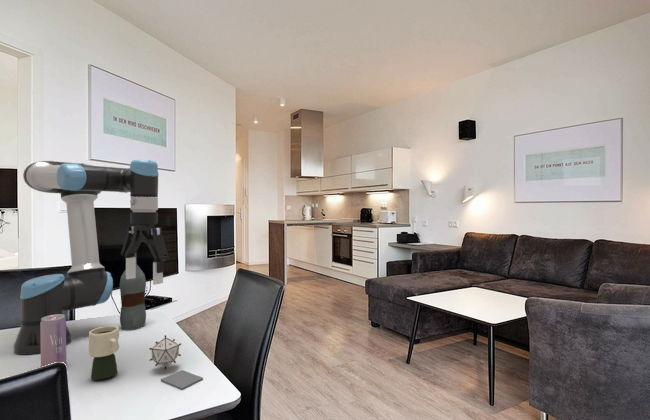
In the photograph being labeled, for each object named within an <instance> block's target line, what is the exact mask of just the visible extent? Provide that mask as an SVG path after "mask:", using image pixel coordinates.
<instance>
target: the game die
mask: <svg viewBox="0 0 650 420" xmlns="http://www.w3.org/2000/svg"><path fill="white" fill-rule="evenodd" d="M175 341H176V338H173V339H170V338H168V337H167V335H166V334H165V335H164V337H163V339H161V340H160V341H155V345H154V346H153V347H149V348H148V349H149V351H151V358H150V359H149V360H148V361H149V362H151V361H153V362H154V363H155V366H154V367H158V365H159V366H162V367H164V369H165V370H166V369H167V366H169V365H170V364H172V363H173V364H176V363H177V361H176V360H177V358H178V357H181V356H182V355H181V353H180V346H181V345H182V343H179V344H178V343H177V342H175Z"/></svg>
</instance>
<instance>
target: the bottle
mask: <svg viewBox="0 0 650 420" xmlns="http://www.w3.org/2000/svg"><path fill="white" fill-rule="evenodd" d="M135 257H136V258H137V252H136V253H135ZM146 287H147V282H146V276H145V273H144V272H143V270H142V269H141V267H140V266H139V265H138V263H137V260H136V278H132V279H126V269H124V271H123V273H122V274H121V276H120V281H119V293H120V301H121V307H120V315H119V323H120V327H121V330H123V331H135V330H138V329H141V327H142V328H143V327H145V326H146V325H145V324H146V321H147V320H146V319H147V310H146V304H145V303H146V302H145V299H146V298H145V297H146Z"/></svg>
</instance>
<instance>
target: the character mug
mask: <svg viewBox="0 0 650 420" xmlns="http://www.w3.org/2000/svg"><path fill="white" fill-rule="evenodd" d="M119 338H120V327H119V326H117V325H106V326H101V327H96V328H94V329H93V328H92V329H91V330H90V331H89V332H88V356H90V357H91V358H93V359H92V365H91V371H90V372H91V374H90V378H91V380H94V381H99V380H102V379H109V378H111V377H114V376H116V375H117V374H118V367H117V359H116V355H115V354H116V353H117V351H118V350H119V349H120V344H119Z"/></svg>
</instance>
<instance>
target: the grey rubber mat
mask: <svg viewBox="0 0 650 420" xmlns="http://www.w3.org/2000/svg"><path fill="white" fill-rule="evenodd" d="M201 381H204V377H202V376H199V375H197V374H195V373H194V374H193V373H191V372H189V371H186V370H184V369H181V370H179V371H177V372H174V373H172V374H170V375H167V376H165V377H162V378H160V382H161V383H162V384H163V383H164V384H166V385H168V386H171V387H173V388H175V389H177V390H180V391H183V390H185V389H188V388H189V387H192V386H194V385H195V384H198V383H200V382H201Z"/></svg>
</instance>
